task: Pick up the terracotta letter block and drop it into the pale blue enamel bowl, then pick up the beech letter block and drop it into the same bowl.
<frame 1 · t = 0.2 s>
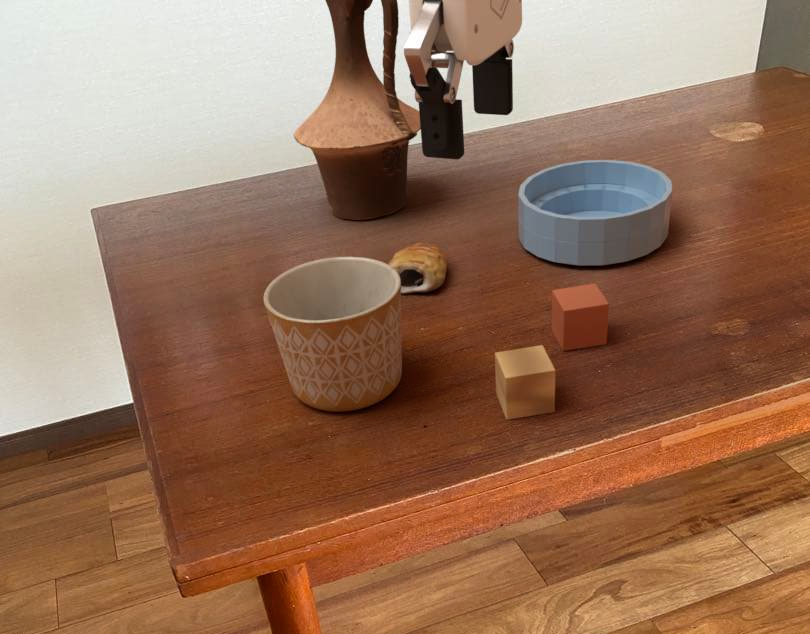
hand: (469, 134, 69), 24 cm above the table, tool pointing down, fingers open, 9 cm apart
block: (524, 402, 83), on the table
bowl: (592, 237, 107), on the table
block2: (578, 337, 90), on the table
pastry: (417, 281, 103), on the table
planter: (348, 386, 88), on the table
pitcher: (370, 206, 121), on the table
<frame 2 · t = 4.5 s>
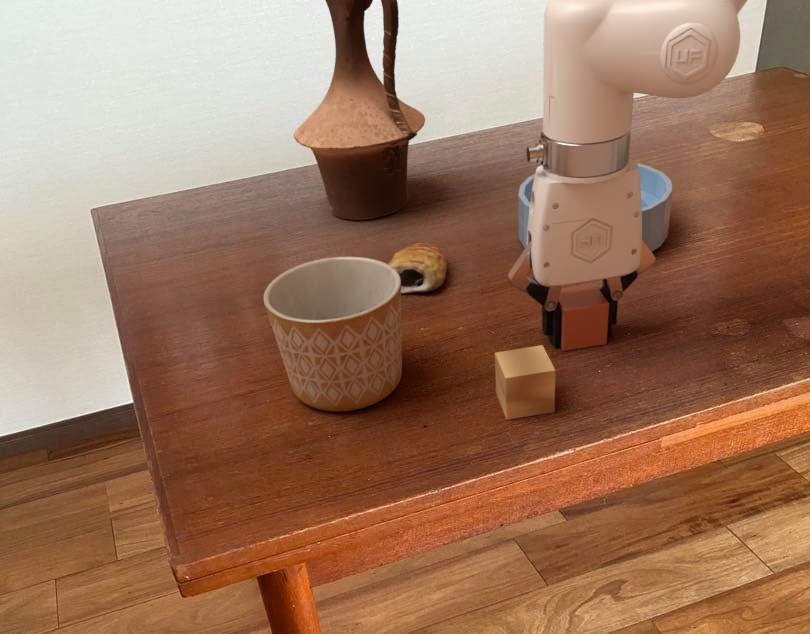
hand: (578, 333, 90), 0 cm above the table, tool pointing down, fingers closed on block2, 4 cm apart
block2: (578, 337, 90), on the table, touching gripper
everything else where it was.
when the fingers open (7 cm above the table, at t = 10.6 s): block2 drops 6 cm, resting on bowl.
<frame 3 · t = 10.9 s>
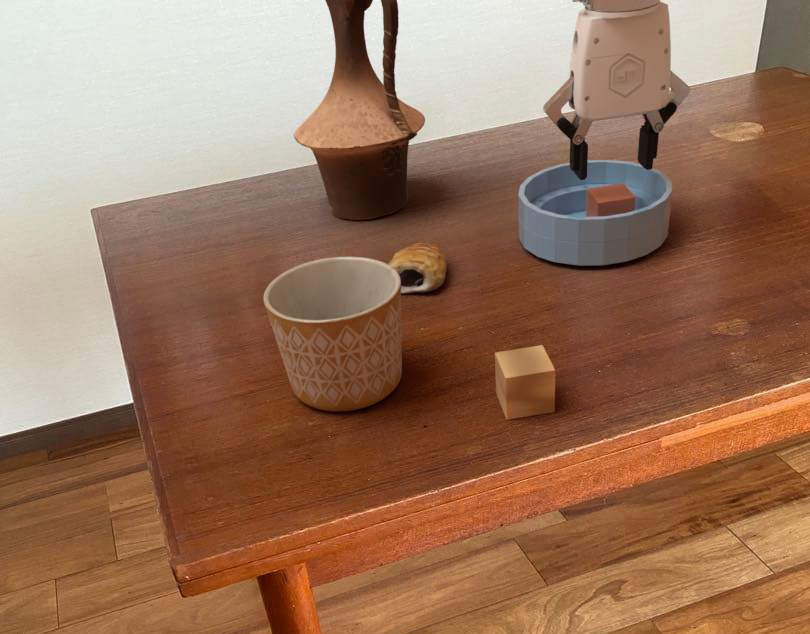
hand: (612, 169, 102), 8 cm above the table, tool pointing down, fingers open, 7 cm apart
block2: (608, 230, 106), point 1 cm above the table, touching bowl
everything else where it was.
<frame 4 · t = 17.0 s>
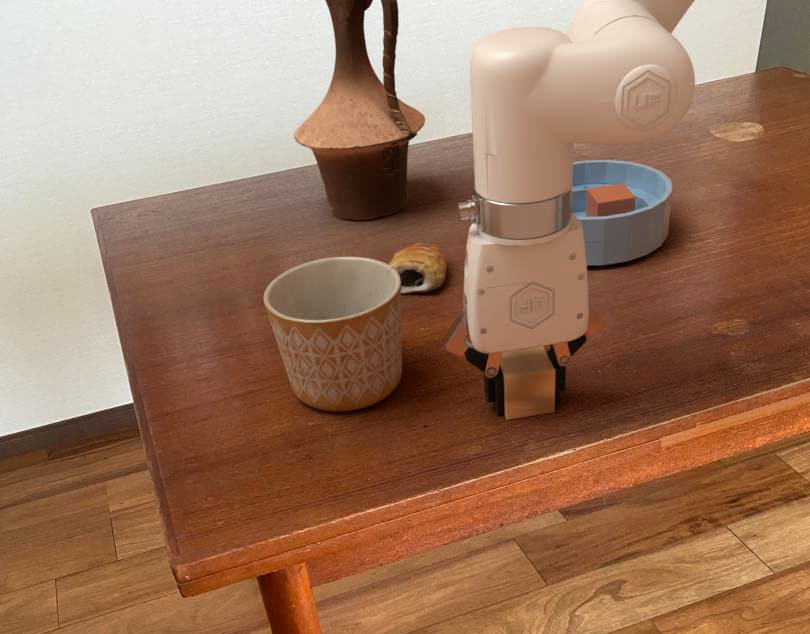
hand: (524, 399, 82), 0 cm above the table, tool pointing down, fingers closed on block, 4 cm apart
block: (524, 402, 83), on the table, touching gripper
everything else where it was.
when the fingers open (9 cm above the table, at t = 24.1 s): block drops 6 cm and tips over, resting on block2, bowl.
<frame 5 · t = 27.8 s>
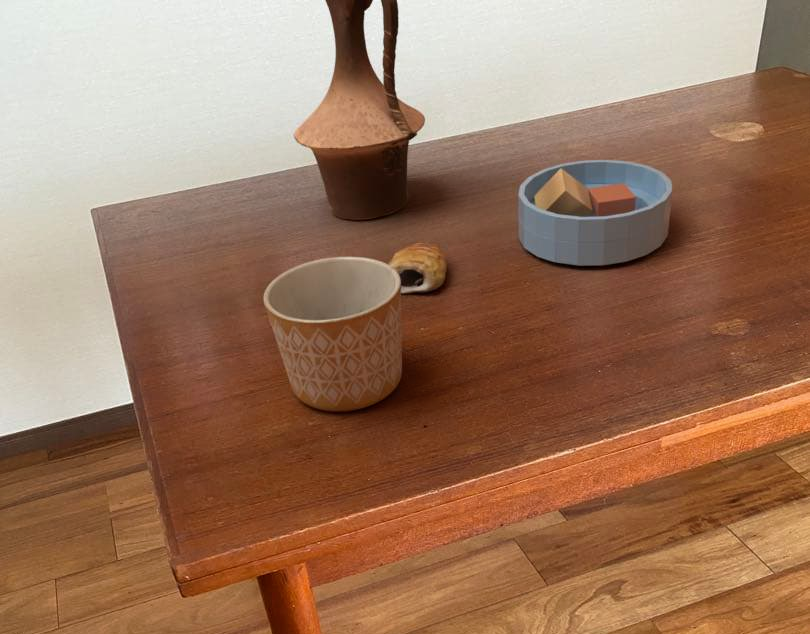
block: (576, 213, 105), point 3 cm above the table, tilted 49°, touching block2, bowl
block2: (609, 229, 106), point 1 cm above the table, touching block, bowl
everything else where it was.
at the end: block2 inside the target area in the bowl (2.1 cm from its centre), point 0.6 cm above the bowl's base; block inside the target area in the bowl (1.9 cm from its centre), point 3.1 cm above the bowl's base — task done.
